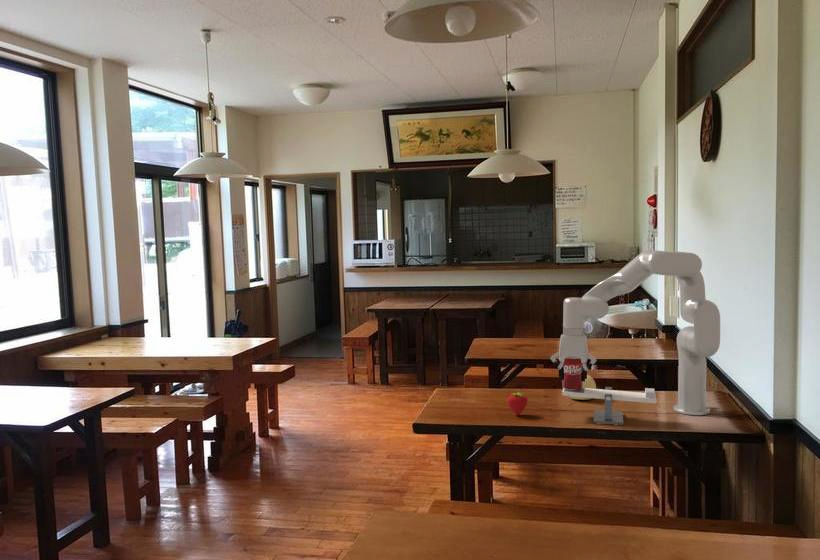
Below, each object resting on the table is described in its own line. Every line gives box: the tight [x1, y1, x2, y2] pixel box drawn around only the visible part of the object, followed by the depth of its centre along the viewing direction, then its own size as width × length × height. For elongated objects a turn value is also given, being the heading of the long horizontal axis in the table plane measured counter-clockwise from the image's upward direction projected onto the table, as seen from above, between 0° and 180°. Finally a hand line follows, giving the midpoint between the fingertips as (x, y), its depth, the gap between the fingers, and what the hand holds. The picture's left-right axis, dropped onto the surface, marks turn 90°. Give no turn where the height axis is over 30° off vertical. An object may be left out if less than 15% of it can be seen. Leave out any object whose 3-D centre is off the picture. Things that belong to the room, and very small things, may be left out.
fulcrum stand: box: [593, 386, 624, 426], centre depth 242 cm, size 10×14×10 cm
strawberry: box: [506, 389, 528, 416], centre depth 250 cm, size 6×8×10 cm
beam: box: [561, 387, 658, 404], centre depth 242 cm, size 32×8×4 cm, turn 74°
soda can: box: [562, 357, 584, 391], centre depth 245 cm, size 7×7×12 cm
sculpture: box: [568, 374, 597, 401], centre depth 271 cm, size 11×12×11 cm
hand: (572, 379), depth 245 cm, fingers closed on soda can, 7 cm apart
